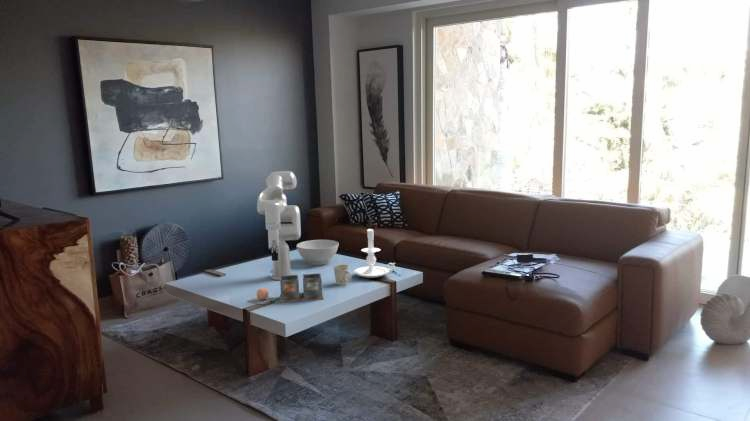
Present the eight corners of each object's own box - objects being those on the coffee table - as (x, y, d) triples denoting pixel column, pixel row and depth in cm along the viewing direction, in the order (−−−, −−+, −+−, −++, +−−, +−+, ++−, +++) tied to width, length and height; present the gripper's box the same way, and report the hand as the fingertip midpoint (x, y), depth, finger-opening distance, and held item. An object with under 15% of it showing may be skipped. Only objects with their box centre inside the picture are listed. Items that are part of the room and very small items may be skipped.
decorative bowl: (347, 260, 381) (347, 241, 379) (322, 270, 359) (321, 250, 357) (314, 255, 395) (313, 238, 393) (288, 265, 373) (287, 246, 371)
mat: (247, 301, 302) (247, 300, 302) (263, 295, 311) (263, 295, 311) (262, 305, 296) (262, 304, 296) (278, 299, 305) (278, 298, 305)
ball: (254, 300, 303) (253, 288, 302) (263, 297, 308) (262, 286, 307) (262, 302, 299) (261, 290, 298) (271, 299, 304) (270, 287, 303)
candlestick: (390, 282, 329) (389, 233, 324) (348, 280, 336) (347, 231, 332) (400, 272, 348) (399, 226, 344) (360, 270, 356) (358, 224, 351)
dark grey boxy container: (280, 302, 299) (278, 281, 298) (280, 295, 310) (279, 275, 308) (323, 299, 303) (322, 278, 301) (322, 292, 313) (321, 272, 311)
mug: (342, 280, 335) (341, 263, 333) (357, 284, 326) (356, 267, 325) (331, 283, 329) (330, 266, 328) (346, 288, 320) (345, 270, 319)
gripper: (266, 223, 311) (267, 255, 313) (265, 229, 294) (267, 262, 296) (280, 222, 312) (282, 254, 314) (280, 228, 295) (282, 261, 298)
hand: (275, 258), depth 305 cm, fingers open, 9 cm apart
